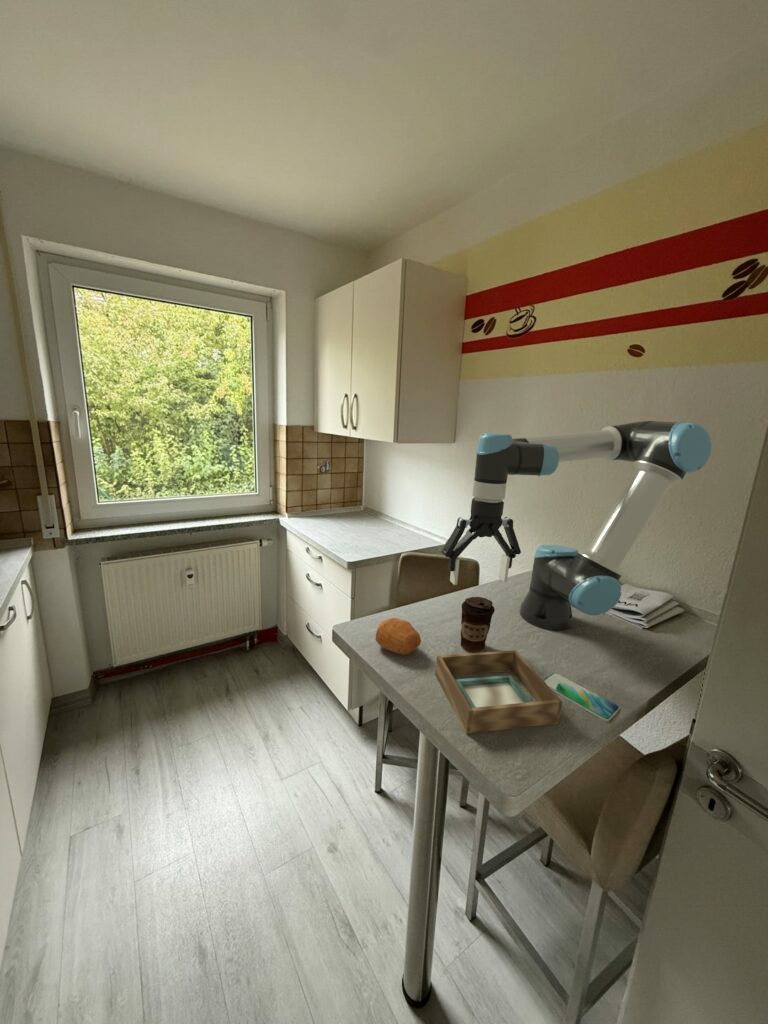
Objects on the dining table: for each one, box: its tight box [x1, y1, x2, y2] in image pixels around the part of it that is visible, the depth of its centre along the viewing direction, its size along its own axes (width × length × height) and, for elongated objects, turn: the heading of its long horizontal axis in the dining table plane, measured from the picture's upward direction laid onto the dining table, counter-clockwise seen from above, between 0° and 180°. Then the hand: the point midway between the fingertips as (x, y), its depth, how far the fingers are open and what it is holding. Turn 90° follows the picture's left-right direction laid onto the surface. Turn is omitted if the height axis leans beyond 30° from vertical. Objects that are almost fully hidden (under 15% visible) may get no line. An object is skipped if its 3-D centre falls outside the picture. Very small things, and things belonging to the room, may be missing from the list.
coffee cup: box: [460, 596, 496, 653], centre depth 105 cm, size 9×8×13 cm
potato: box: [375, 617, 422, 656], centre depth 103 cm, size 9×11×8 cm
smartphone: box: [542, 672, 620, 722], centre depth 91 cm, size 7×1×15 cm
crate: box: [434, 649, 564, 735], centre depth 88 cm, size 20×18×5 cm
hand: (478, 581), depth 102 cm, fingers open, 13 cm apart
